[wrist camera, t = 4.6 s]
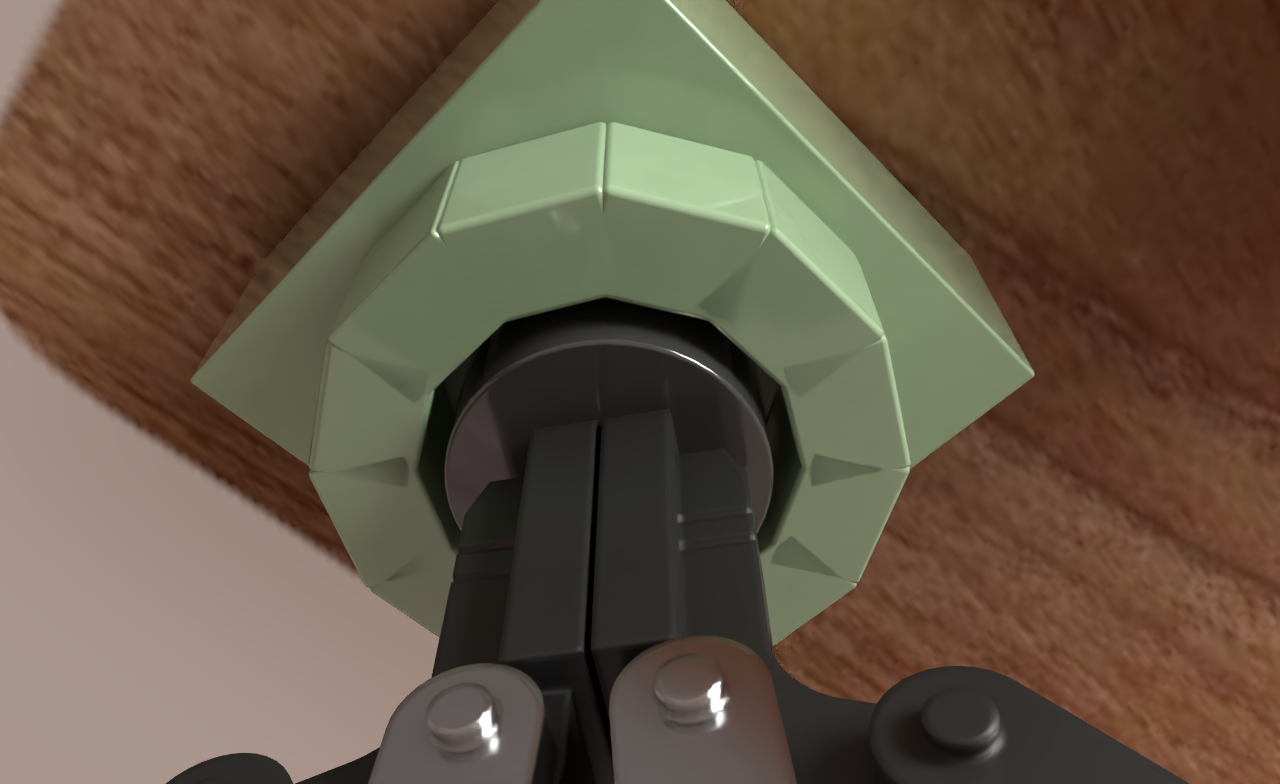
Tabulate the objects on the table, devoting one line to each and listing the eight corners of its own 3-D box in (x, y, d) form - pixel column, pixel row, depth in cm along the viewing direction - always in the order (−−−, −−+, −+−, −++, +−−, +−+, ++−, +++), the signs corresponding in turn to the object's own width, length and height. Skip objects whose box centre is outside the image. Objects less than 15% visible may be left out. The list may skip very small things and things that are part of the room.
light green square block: (261, 262, 18) (130, 475, 13) (609, -123, 15) (596, -24, 11) (621, 539, 21) (617, 797, 16) (970, 256, 18) (1089, 467, 13)
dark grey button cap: (405, 389, 15) (375, 487, 13) (607, 193, 14) (603, 274, 12) (615, 549, 16) (613, 658, 14) (818, 386, 15) (843, 483, 13)
